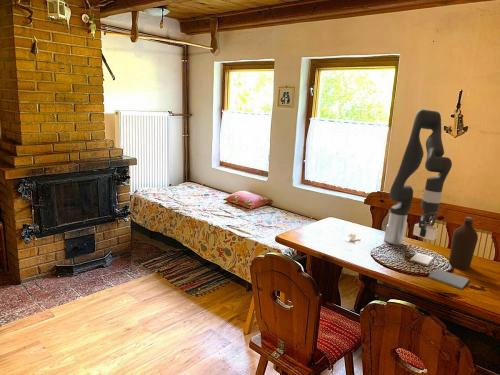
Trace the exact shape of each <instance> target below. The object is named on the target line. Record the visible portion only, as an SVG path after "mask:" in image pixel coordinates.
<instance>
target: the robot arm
mask: <svg viewBox="0 0 500 375" xmlns="http://www.w3.org/2000/svg"><path fill="white" fill-rule="evenodd" d="M411 128H412V129H411V132H410V136H409V138H408V139H409V140H408V142H407V145H406V148H405V151H404V154H403V156H402V160H401V163H400V166H399V169H398V171H397V174H396V176H395V178H394V180H393V183H392V185H391V187H390V189H389V190H390V191H389V198H390V200H391V201H392V202H397V204H394V205H392V206H391V207H390V209H389V215H388V216H389V217H388V222H387V224H386V226H385V231H384V238H383V241H384V242H386V243H388V244H391V245H396V246H400V245H402V244H403V242H404V237H405V232H406V225H407V220H408V214H409V212H410V209H411V205H412V202H413V197H414V189H413V188H412V186H411V185H408V184H406V182H407V180H408V179H409V178H410V177H412V175H413V174H414V173H415V172H416V171H417V170H418V169H419V167H420V166H421V163H422V162H423V158H424V154H425V152H424V148H423V146H422V142H421V139H420V133H421V129H425V130H431V131H432V132H431V134H430V135H429V136H428V137H427V139H426V141H425V149H426V160H425V163H424V168H425V170H426V171H428V172H430V173H431V172H432V173H438V174H437V175H436V176H429V177H427V178H426V182H425V185H424V186H425V188H424V191H423V194H422V200H421V205H420V209H421V210H423V213H422V215H419V218H418V219H419V220H418V223H419V228H421V231H420V236H421V237H420V238H422V237H425V234H426V229H427V226H431V227H433V226H434V225H435V224H436V222H435V221H436V220H437V217H438V212H439V211H440V206H441V202H442V194H443V193H442V192H443V188H444V183H445V180H446V179H447V177H448V175H449V173H450V171H451V169H452V167H453V162H452V159H451V158H450V157H447V156H444V155H445V149H444V145H443V141H442V140H443V139H442V116H441V113H440V112H438V111H436V110H429V109H423V108H422V109H418V111H417V113H416V115H415V118H414V121H413V124H412V127H411Z"/></svg>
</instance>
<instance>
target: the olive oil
mask: <svg viewBox="0 0 500 375" xmlns="http://www.w3.org/2000/svg"><path fill="white" fill-rule="evenodd" d="M473 222H474V218H473V217H471V216H465V219H464V223H463V224H462V225H461V226H458V227H457V228H455V230H454V231H453V234H452V240H451V245H450V246H451V247H450V254H449V259H448V264H449V263H450V264H451V265H450V264H449V265H450V266H452V267H453V268H456V269H460V270H469V269H470V268H471V265H472V260H473V257H474V254H475V251H476V247H477V243H478V239H479V236H478V233H477V231H476V230H475V228H474V227H473Z"/></svg>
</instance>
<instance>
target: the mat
mask: <svg viewBox="0 0 500 375" xmlns="http://www.w3.org/2000/svg"><path fill="white" fill-rule="evenodd" d="M428 278H429V279H431V280H435V281H438V282H440V283H442V284H445V285H448V286H451V287H454V288H457V289H460V290H463V289H464V288H465V287H466V285H467V284H468V283H469V281H470V279H469V278H467V277H464V276H460V275H458V274H454V273H452V272H448V271H445V270H442V269H439V268H436V269H434V270H433V271H432V272H431V273H430V274H429V275H428Z"/></svg>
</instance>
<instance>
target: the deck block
mask: <svg viewBox="0 0 500 375" xmlns="http://www.w3.org/2000/svg"><path fill="white" fill-rule="evenodd" d="M420 231H421V228H419V222H418V223H415V224H414V226H413V231H412V235H413V236H417V237H420V238H422V239H426V240H429V241H435V240H437V236H438V232H439V227H435V226H432V227H431V226H427V229H426V234H425V237H421V236H420Z"/></svg>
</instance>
